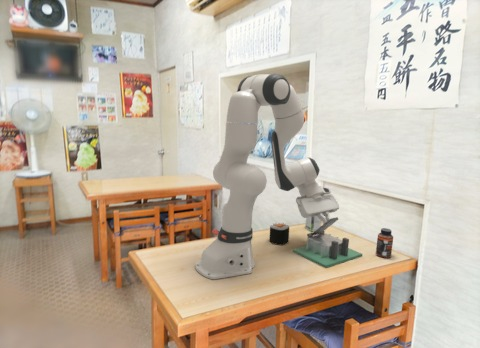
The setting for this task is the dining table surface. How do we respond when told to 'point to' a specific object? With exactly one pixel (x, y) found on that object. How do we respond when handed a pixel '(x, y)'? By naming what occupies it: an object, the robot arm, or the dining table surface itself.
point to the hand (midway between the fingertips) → (327, 222)
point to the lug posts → (335, 248)
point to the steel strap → (325, 226)
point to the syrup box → (313, 223)
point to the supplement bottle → (384, 243)
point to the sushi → (279, 233)
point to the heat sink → (322, 244)
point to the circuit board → (326, 261)
